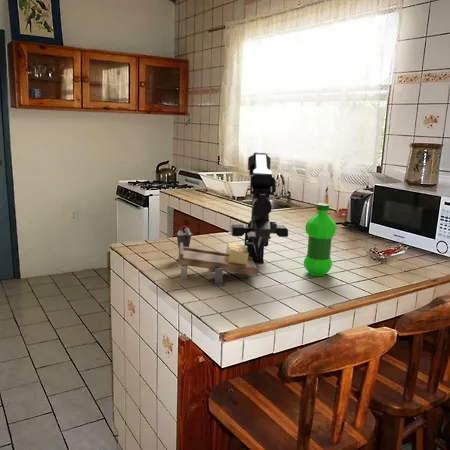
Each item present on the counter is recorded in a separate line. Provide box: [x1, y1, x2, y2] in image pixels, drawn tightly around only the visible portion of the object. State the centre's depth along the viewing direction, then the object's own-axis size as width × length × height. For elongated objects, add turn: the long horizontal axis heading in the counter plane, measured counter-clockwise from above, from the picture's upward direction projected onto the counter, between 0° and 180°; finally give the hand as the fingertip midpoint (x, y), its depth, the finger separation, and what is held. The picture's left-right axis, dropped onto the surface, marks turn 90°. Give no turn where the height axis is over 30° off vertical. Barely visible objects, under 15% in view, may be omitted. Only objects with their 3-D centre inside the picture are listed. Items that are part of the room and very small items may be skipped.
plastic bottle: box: [303, 202, 338, 277], centre depth 158 cm, size 10×10×25 cm
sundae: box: [174, 221, 194, 262], centre depth 169 cm, size 7×7×15 cm
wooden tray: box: [178, 242, 260, 277], centre depth 153 cm, size 26×15×4 cm, turn 96°
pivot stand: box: [180, 265, 226, 287], centre depth 153 cm, size 14×19×6 cm
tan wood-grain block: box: [225, 242, 249, 266], centre depth 154 cm, size 6×10×5 cm, turn 6°
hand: (257, 255), depth 154 cm, fingers closed
